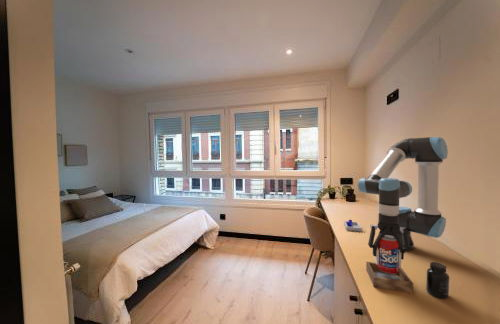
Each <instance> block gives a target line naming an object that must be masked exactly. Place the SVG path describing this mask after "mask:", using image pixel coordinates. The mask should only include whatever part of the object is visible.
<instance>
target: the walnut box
mask: <svg viewBox="0 0 500 324" xmlns="http://www.w3.org/2000/svg"><path fill="white" fill-rule="evenodd" d="M365 263H366V264H365V265H366V267H365V268H366V269H365V270H366V273H367V274H368V277H369V279H370V281H371V284H372V286H373V288H377V287H378V288H379V289H385V290H392V291H397V292H402V293H403V292H404V293H411V294H413V293H414V283H413V281H412V280H411V278H410V277H409V276H408V275H407V273H406V272H405V271H404V268H402V267H401V268H399V267H398V273H396V274H388V273H385V272H383V271H381V270H380V269H379V268H378V267H377V264H376V263H375V261H374V262H373V261H366V262H365Z"/></svg>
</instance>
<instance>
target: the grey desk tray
mask: <svg viewBox="0 0 500 324" xmlns="http://www.w3.org/2000/svg"><path fill="white" fill-rule="evenodd" d="M347 222H349V220H344V221H343V226H344V227H345V228H344V229H345V231H346V232H347V231H348V232H358V233H362V231H363V230H362V229H363V228H362V226H361V224H360V223H359V221H352V224H353V227H348V226H347Z"/></svg>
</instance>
